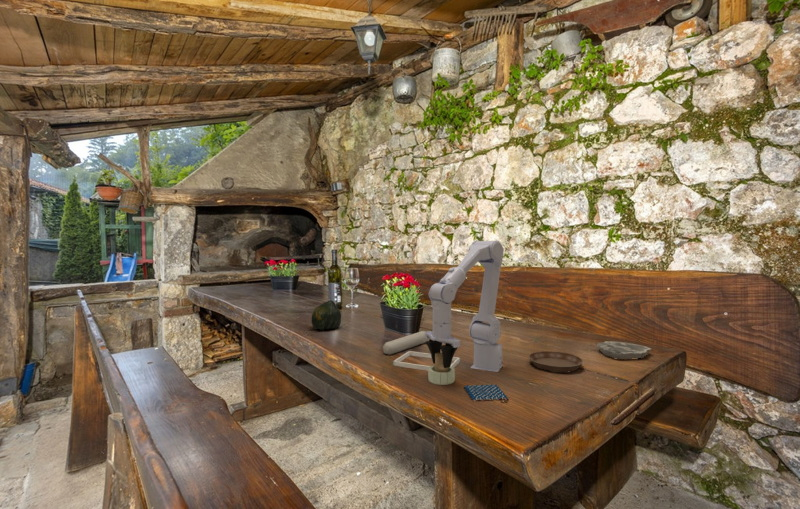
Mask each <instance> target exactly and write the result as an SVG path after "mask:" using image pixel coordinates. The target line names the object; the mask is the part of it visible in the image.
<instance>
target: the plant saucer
mask: <svg viewBox="0 0 800 509" xmlns="http://www.w3.org/2000/svg"><path fill="white" fill-rule="evenodd" d="M528 359H529V361H530V362H531V363H532V364H533V365H534V367H536V368H537V369H540V368H541V369H540V370H543V369H544V371H547V370H548V371H547V372H552V371H555V372H554V373H569V372H568V371H572V372H575V371H576V370H578V369H579V368H580V366H582V364H583V363H584V360H583V359H582V358H581V357H579V356H577V355H574V354H571V353H567V352H562V351H561V352H560V351H552V350H546V351H545V350H543V351H542V350H541V351H535V352H532V353H530V354H529V355H528ZM574 370H575V371H574Z"/></svg>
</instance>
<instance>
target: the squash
mask: <svg viewBox="0 0 800 509" xmlns="http://www.w3.org/2000/svg"><path fill="white" fill-rule="evenodd" d="M341 323H342V313H341V311H340V309H339V307H338V306H337V304H336V303H335V301H334V300H327V301H325V302H323V303H321V304H320V305H318V306H316V307H315V308H314V309H313V312H312V315H311V325H312V327H313V328H314V329H315V330H317V329H320V330H319V331H324V330H329V329H330V330H336V329H337V328H339V327H340V325H341ZM335 328H336V329H335Z"/></svg>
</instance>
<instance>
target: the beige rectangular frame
mask: <svg viewBox="0 0 800 509" xmlns="http://www.w3.org/2000/svg"><path fill="white" fill-rule="evenodd" d="M410 356H413V357H421V358H426V359H432V357H431V353H427V352H421V351H412V350H409V351H406V352H405V353H403V354H401V356H398V357H397V358H396V359H394V360H392V366H395V367H401V368H408V369H413V370H414V369H415V370H420V371H427V372H428V368H429V367H430V366H431V365H423V364H418V363H410V362H404V360H406V358H408V357H410ZM459 363H461V357H457V356H456V357H455V356H453V358H452V362H451V367H453V368H454V369H455V367H457V366H458V364H459Z"/></svg>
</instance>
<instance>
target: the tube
mask: <svg viewBox="0 0 800 509" xmlns="http://www.w3.org/2000/svg"><path fill="white" fill-rule="evenodd" d="M425 332H427V331H425V330H420V331H418V332H415V333H412V334H409V335H406V336H401V337H399V338H396V339H393V340H390V341H386V342H385V343H384V344H383V346H382V351H383V353H384V354H385V355H389V356H390V355H394V354H397V353H401V352H403V351H406V350H410V349H412V348H414V347H417V346H421V345H423V344H426V341H429V340H430V338H425ZM420 344H421V345H420Z"/></svg>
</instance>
